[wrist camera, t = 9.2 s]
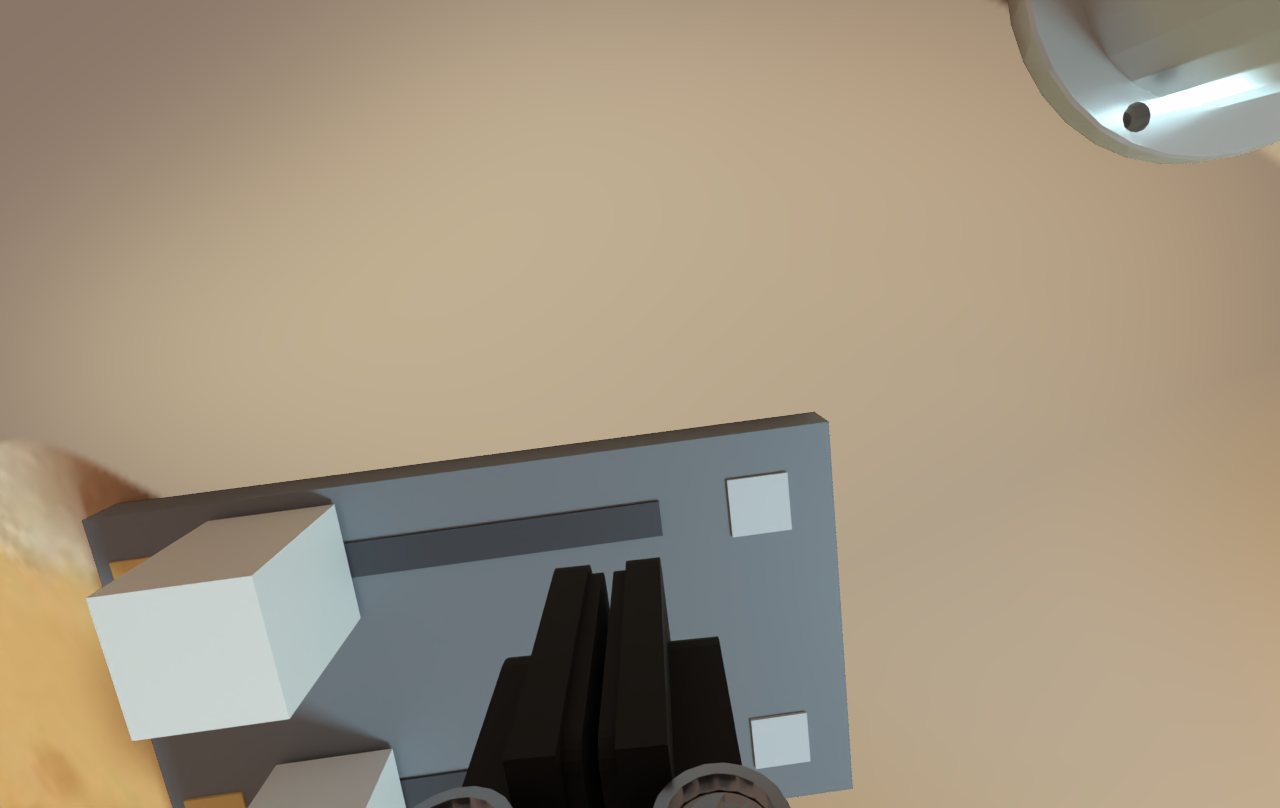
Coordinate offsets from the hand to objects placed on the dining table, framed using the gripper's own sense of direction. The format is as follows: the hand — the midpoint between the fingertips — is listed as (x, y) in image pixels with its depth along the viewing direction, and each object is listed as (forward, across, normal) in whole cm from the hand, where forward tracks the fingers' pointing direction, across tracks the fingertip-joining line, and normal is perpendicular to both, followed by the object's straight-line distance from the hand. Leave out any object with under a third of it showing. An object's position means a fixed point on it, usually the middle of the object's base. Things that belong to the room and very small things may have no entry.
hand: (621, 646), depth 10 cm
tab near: (+10, +12, +3) cm, 16 cm away
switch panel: (+12, +6, +7) cm, 15 cm away
